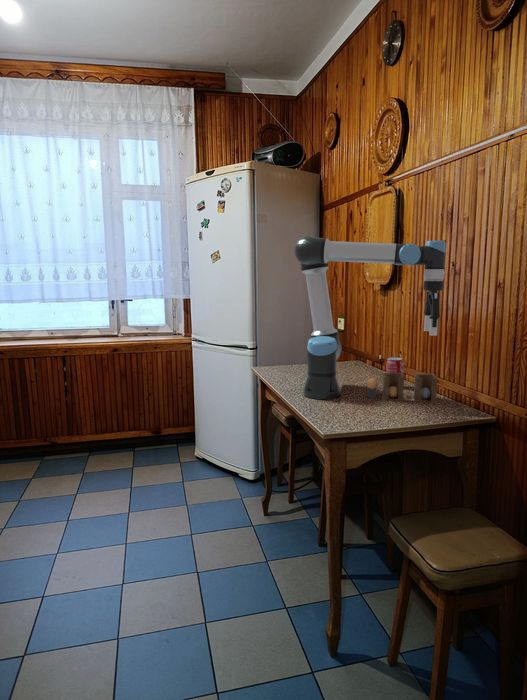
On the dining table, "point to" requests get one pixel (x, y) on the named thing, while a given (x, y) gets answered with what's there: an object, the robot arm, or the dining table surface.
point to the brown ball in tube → (393, 392)
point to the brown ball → (372, 383)
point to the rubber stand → (371, 393)
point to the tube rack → (420, 382)
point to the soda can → (394, 365)
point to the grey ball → (425, 393)
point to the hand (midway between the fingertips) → (430, 333)
